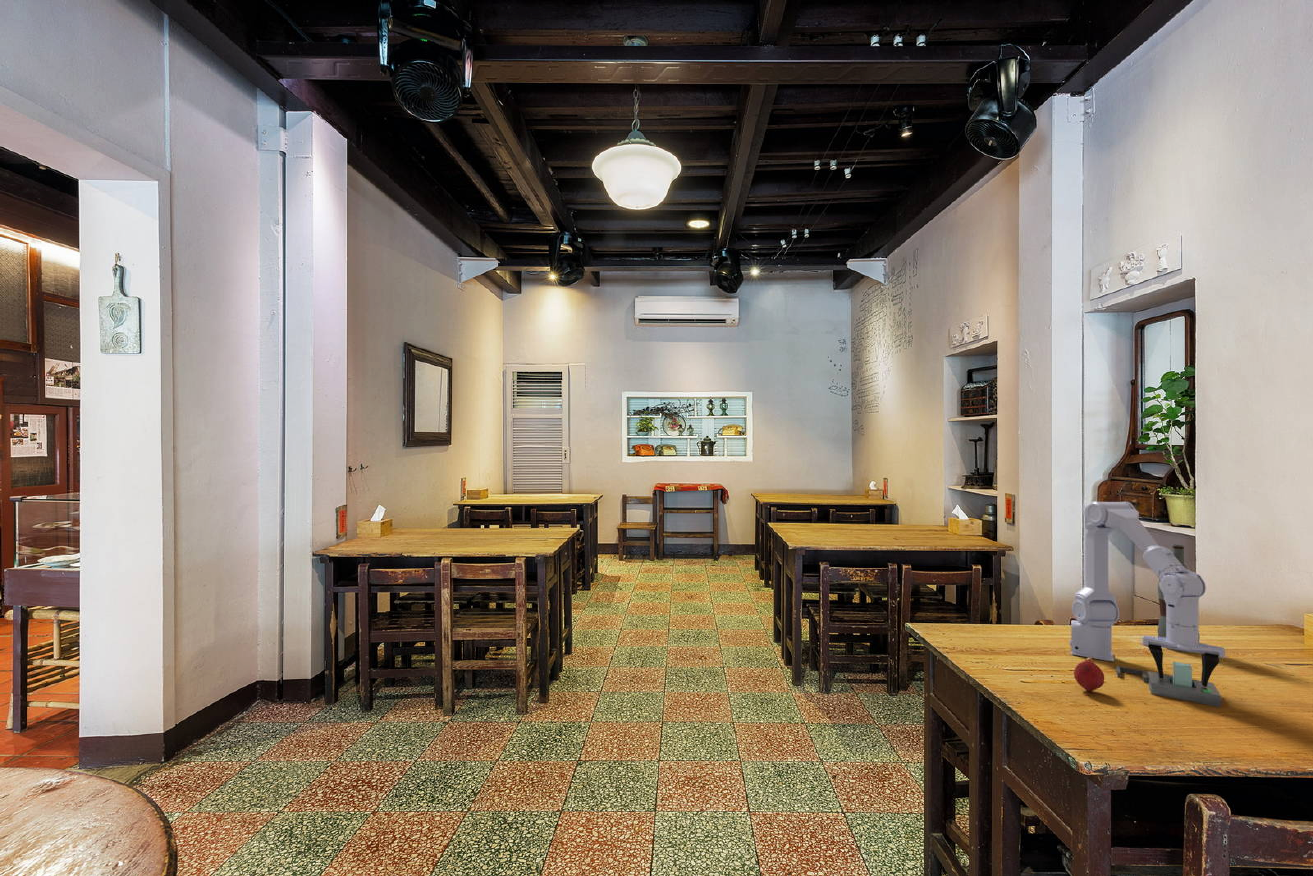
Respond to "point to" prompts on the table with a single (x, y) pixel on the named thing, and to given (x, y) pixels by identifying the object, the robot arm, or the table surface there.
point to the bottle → (1179, 554)
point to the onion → (1089, 675)
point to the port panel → (1184, 690)
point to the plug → (1182, 674)
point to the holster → (1131, 672)
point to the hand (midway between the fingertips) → (1182, 681)
